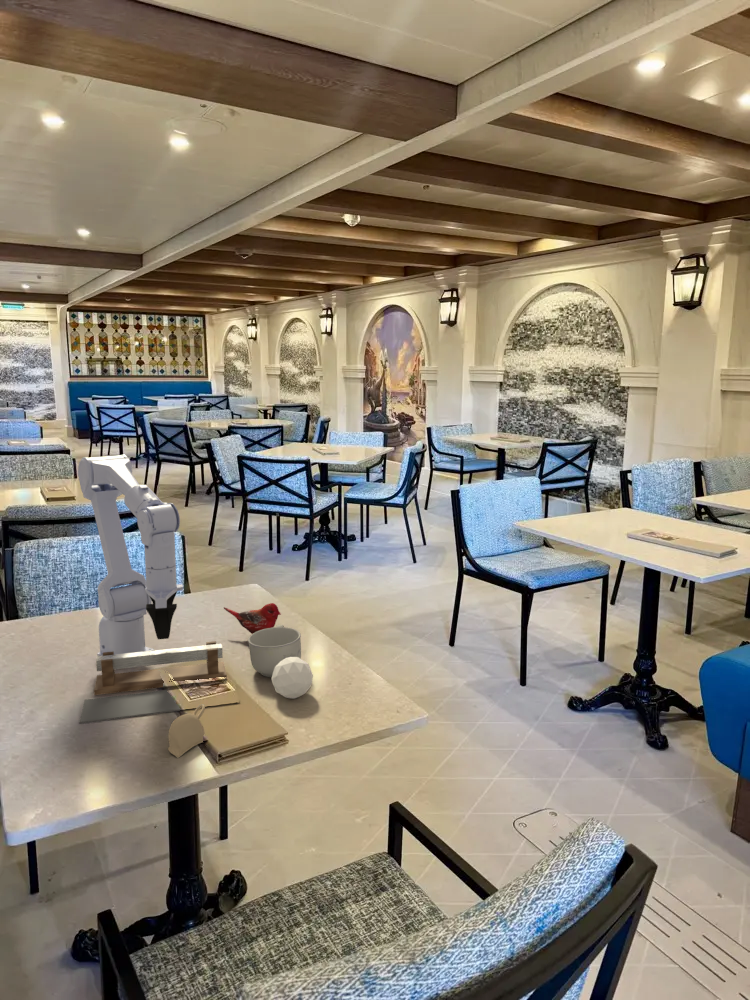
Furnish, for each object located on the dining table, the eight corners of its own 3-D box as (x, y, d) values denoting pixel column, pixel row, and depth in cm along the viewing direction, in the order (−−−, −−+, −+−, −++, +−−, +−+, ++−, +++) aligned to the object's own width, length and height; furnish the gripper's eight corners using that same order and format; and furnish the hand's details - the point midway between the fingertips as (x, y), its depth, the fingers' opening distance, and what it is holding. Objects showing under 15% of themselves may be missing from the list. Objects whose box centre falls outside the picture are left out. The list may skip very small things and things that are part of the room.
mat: (79, 723, 122) (79, 722, 122) (84, 701, 130) (84, 699, 130) (240, 703, 130) (240, 701, 130) (235, 683, 138) (235, 681, 138)
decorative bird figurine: (277, 649, 156) (276, 606, 154) (219, 633, 165) (218, 593, 163) (285, 645, 158) (284, 603, 156) (228, 630, 167) (227, 590, 166)
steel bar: (96, 671, 134) (96, 660, 134) (97, 666, 137) (97, 656, 136) (222, 657, 141) (222, 647, 141) (221, 653, 143) (221, 643, 143)
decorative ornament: (160, 751, 113) (158, 720, 112) (199, 730, 120) (198, 701, 119) (177, 758, 111) (175, 728, 110) (216, 736, 118) (215, 707, 117)
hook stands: (94, 695, 133) (92, 664, 132) (97, 680, 139) (95, 651, 138) (226, 679, 140) (225, 650, 139) (223, 666, 147) (222, 638, 145)
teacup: (291, 684, 138) (291, 647, 137) (240, 679, 140) (239, 642, 139) (312, 657, 151) (311, 622, 150) (265, 653, 154) (264, 619, 152)
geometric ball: (303, 707, 134) (327, 680, 132) (272, 706, 129) (295, 677, 126) (289, 677, 139) (311, 650, 137) (257, 674, 133) (280, 646, 131)
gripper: (181, 574, 130) (184, 642, 132) (181, 555, 143) (184, 617, 146) (142, 577, 128) (145, 646, 130) (146, 557, 142) (149, 620, 144)
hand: (163, 631), depth 138 cm, fingers open, 7 cm apart
